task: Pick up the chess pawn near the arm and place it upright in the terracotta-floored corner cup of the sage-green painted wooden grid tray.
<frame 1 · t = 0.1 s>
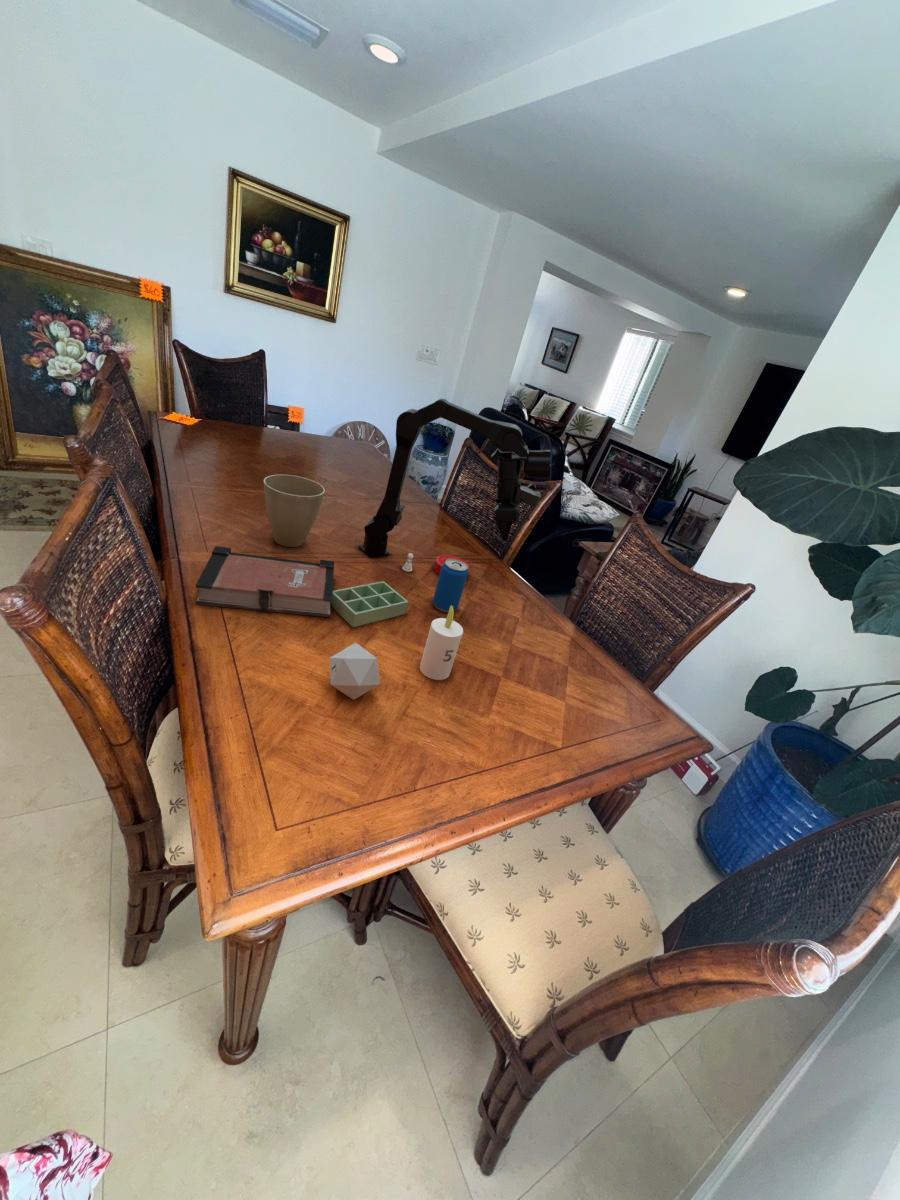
hand: (505, 534, 131), 15 cm above the table, tool pointing down, fingers open, 9 cm apart
die: (351, 689, 87), on the table
plant pot: (289, 542, 130), on the table
grid: (368, 609, 111), on the table
candle: (434, 670, 97), on the table
chess pawn: (407, 570, 133), on the table
book: (270, 592, 107), on the table, touching grid
beverage can: (444, 607, 120), on the table
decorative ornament: (449, 572, 138), on the table
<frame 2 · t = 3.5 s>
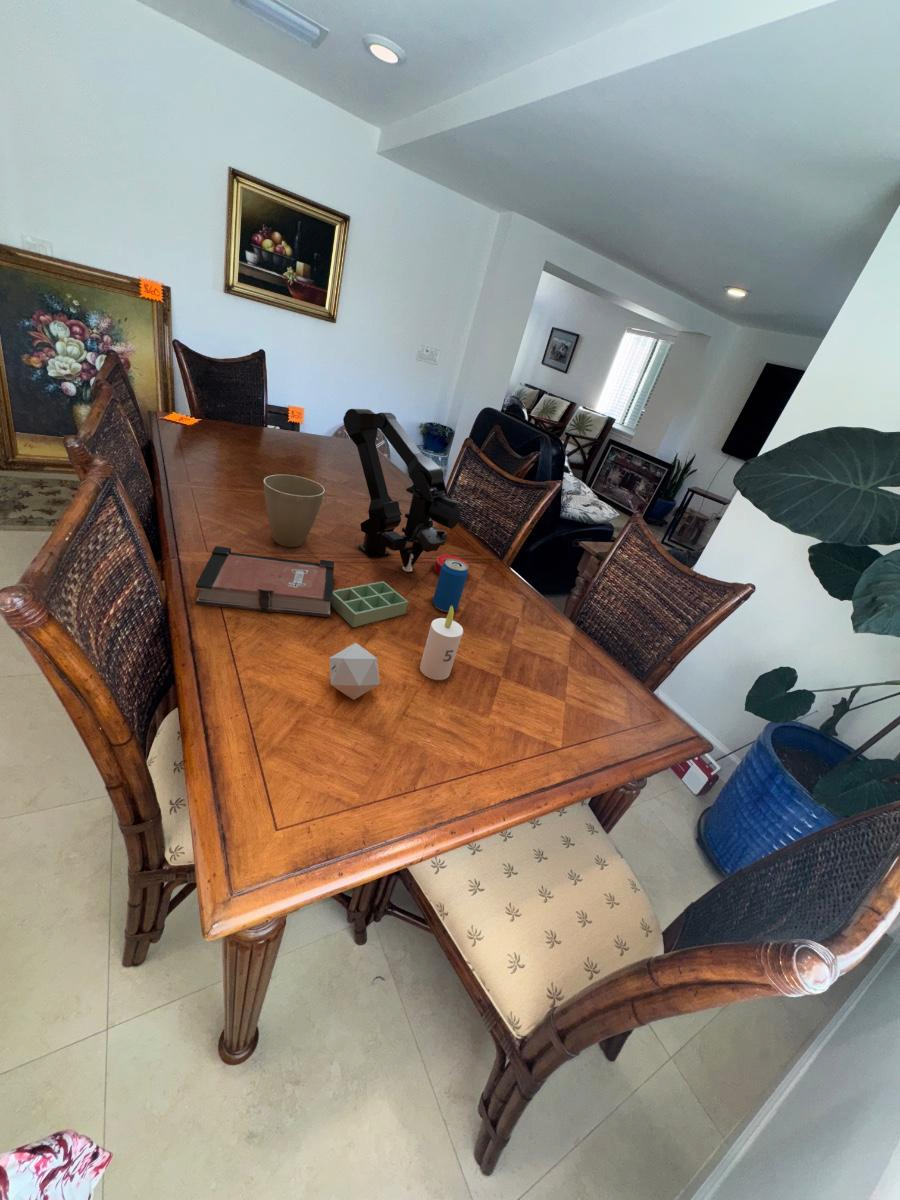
hand: (407, 566, 132), 1 cm above the table, tool pointing down, fingers closed on chess pawn, 2 cm apart
chess pawn: (407, 570, 133), on the table, touching gripper
everything else where it was.
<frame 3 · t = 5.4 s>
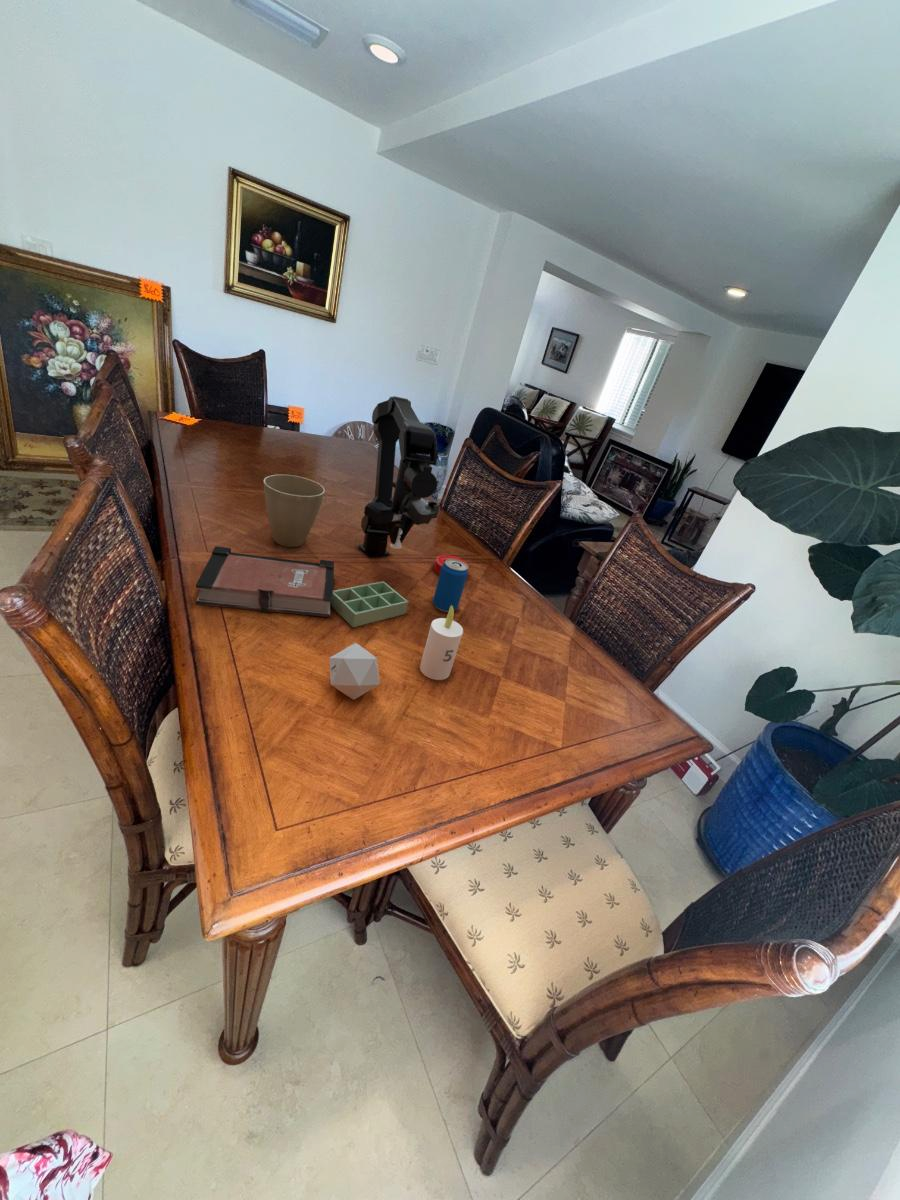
hand: (396, 543, 119), 11 cm above the table, tool pointing down, fingers closed on chess pawn
chess pawn: (395, 547, 119), point 10 cm above the table, touching gripper
everything else where it was.
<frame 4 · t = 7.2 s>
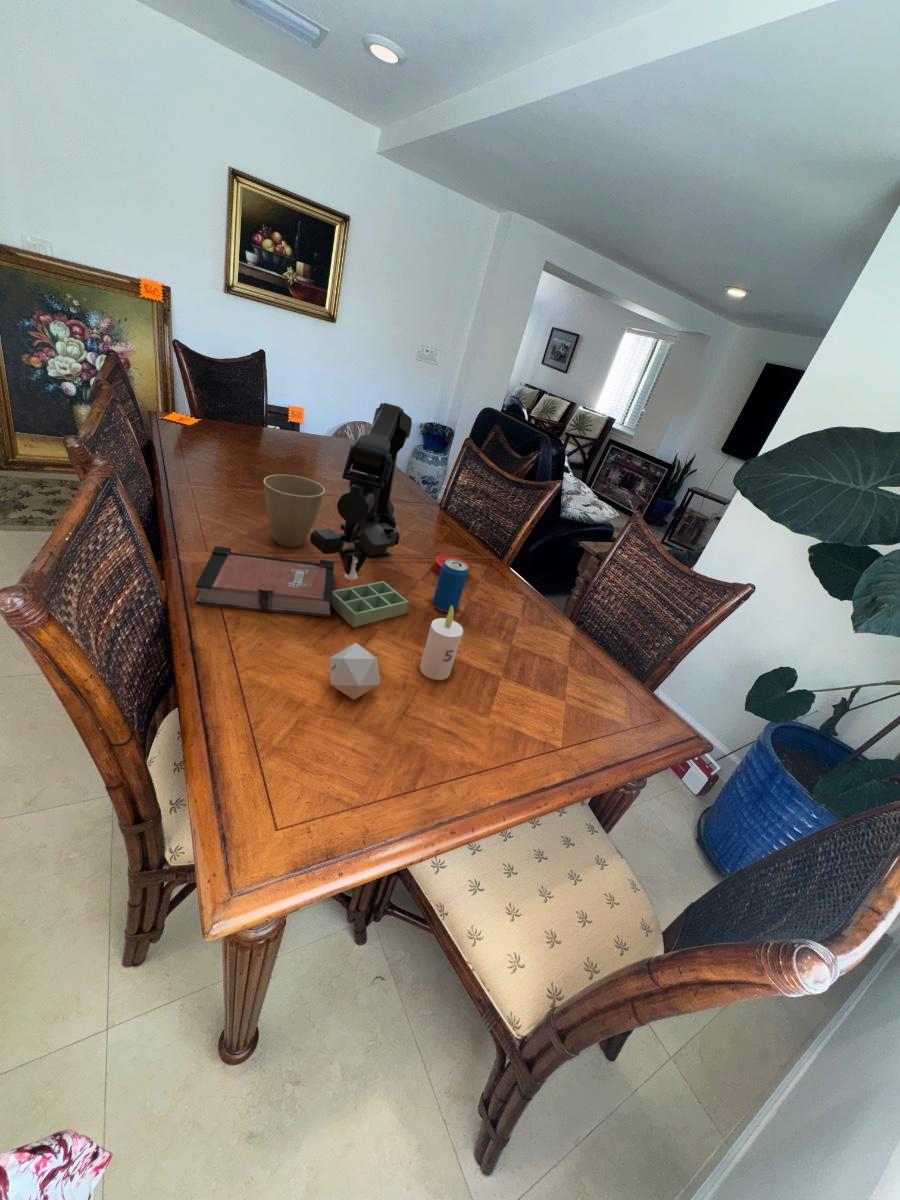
hand: (351, 572, 105), 9 cm above the table, tool pointing down, fingers closed on chess pawn
chess pawn: (350, 577, 105), point 8 cm above the table, touching gripper
everything else where it was.
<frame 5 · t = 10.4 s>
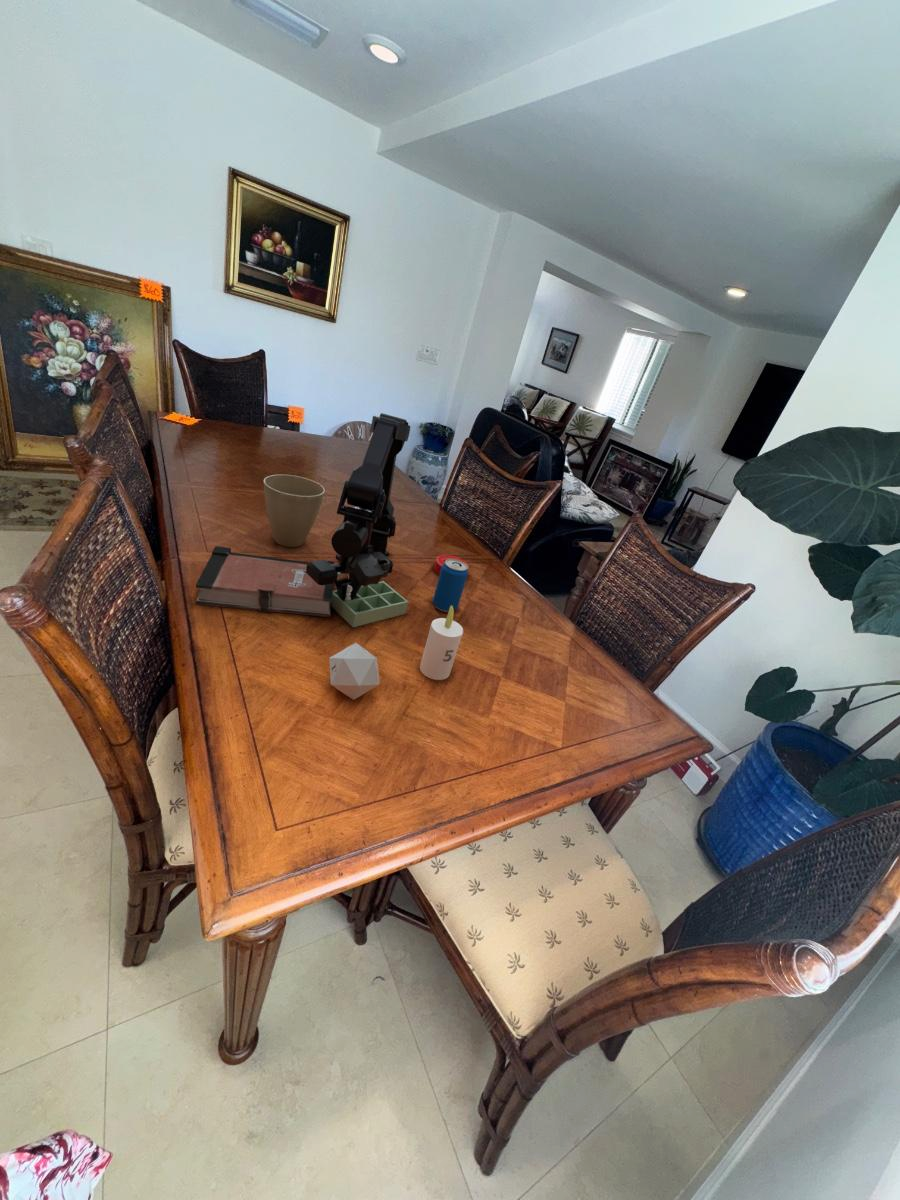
hand: (346, 600, 108), 2 cm above the table, tool pointing down, fingers closed on chess pawn, 2 cm apart
chess pawn: (345, 605, 109), point 1 cm above the table, touching gripper
everything else where it was.
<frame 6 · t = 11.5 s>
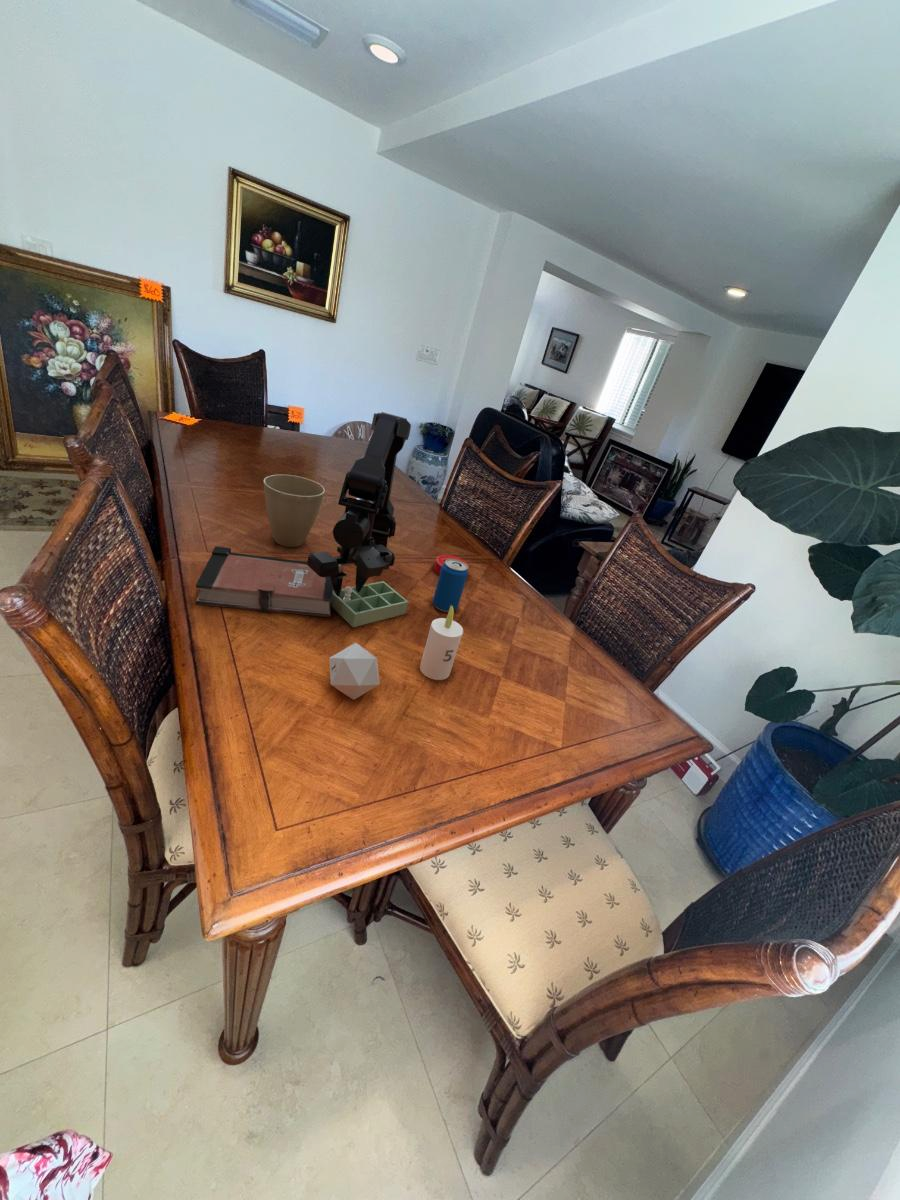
hand: (347, 593, 107), 4 cm above the table, tool pointing down, fingers open, 5 cm apart
chess pawn: (345, 606, 109), resting on grid
book: (270, 592, 107), on the table, touching grid, gripper
everything else where it was.
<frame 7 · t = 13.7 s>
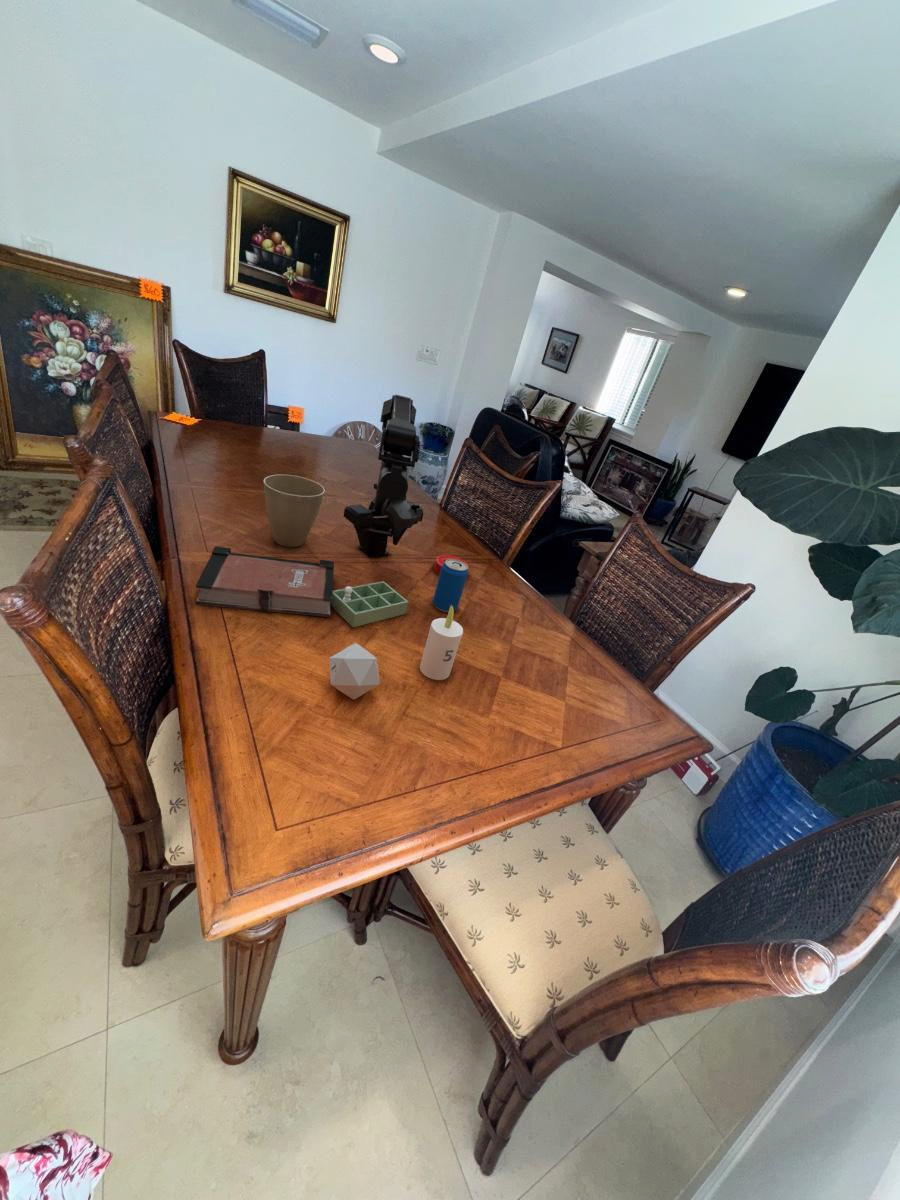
hand: (379, 546, 114), 11 cm above the table, tool pointing down, fingers open, 9 cm apart
book: (270, 592, 107), on the table, touching grid
everything else where it was.
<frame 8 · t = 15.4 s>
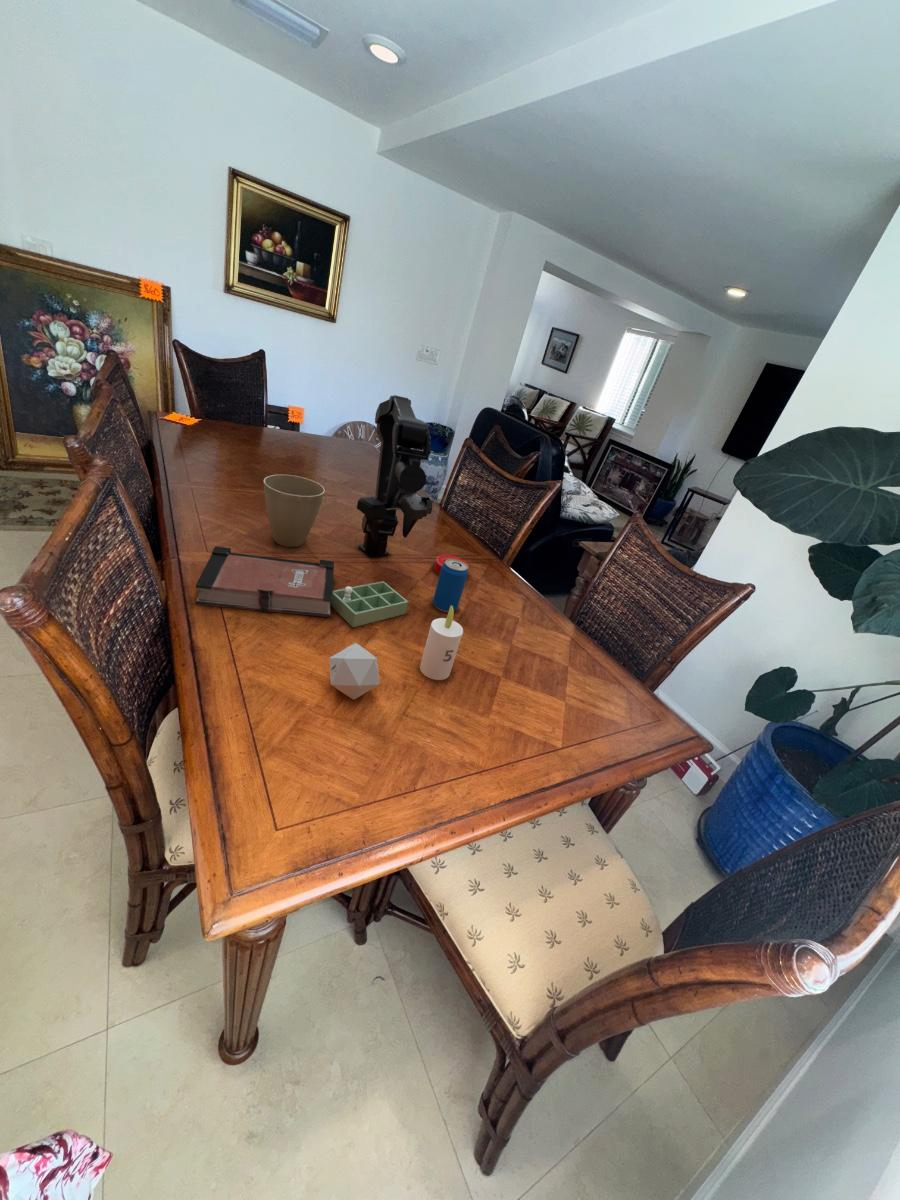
hand: (389, 538, 118), 12 cm above the table, tool pointing down, fingers open, 9 cm apart
nothing on the table moved.
at the end: chess pawn 0.1 cm from the target spot in the grid, point 0.4 cm above the grid's base; the gripper is holding nothing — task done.
